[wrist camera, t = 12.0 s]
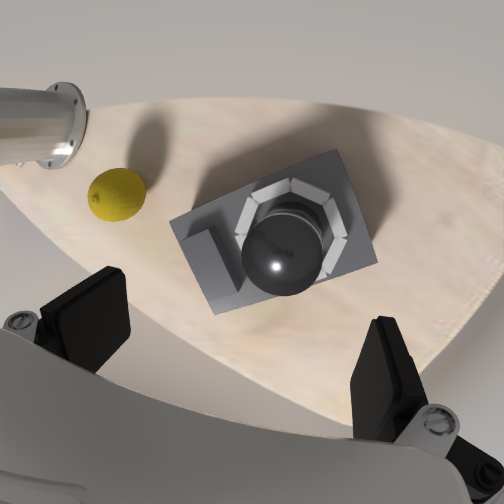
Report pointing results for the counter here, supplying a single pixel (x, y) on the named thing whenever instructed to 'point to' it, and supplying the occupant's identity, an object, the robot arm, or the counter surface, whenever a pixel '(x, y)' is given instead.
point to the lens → (284, 250)
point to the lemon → (116, 194)
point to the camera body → (254, 209)
